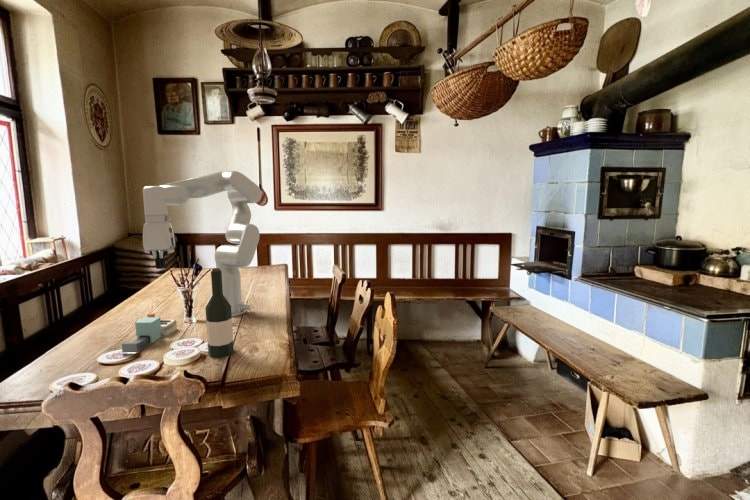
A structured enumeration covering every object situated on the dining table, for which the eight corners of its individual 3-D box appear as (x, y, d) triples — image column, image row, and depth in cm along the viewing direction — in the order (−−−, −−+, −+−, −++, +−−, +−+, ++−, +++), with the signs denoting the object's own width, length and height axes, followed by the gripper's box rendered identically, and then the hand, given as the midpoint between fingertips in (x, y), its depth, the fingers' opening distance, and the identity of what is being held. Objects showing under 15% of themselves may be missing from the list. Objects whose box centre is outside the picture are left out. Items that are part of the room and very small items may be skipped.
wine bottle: (218, 359, 136) (213, 272, 131) (203, 354, 140) (197, 269, 136) (238, 351, 143) (234, 268, 138) (223, 346, 147) (218, 265, 143)
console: (176, 329, 166) (175, 318, 165) (167, 336, 158) (166, 324, 157) (152, 329, 165) (151, 318, 165) (141, 336, 158) (140, 324, 157)
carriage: (161, 336, 156) (160, 317, 154) (153, 342, 150) (151, 322, 148) (145, 336, 155) (144, 317, 154) (137, 342, 150) (135, 322, 148)
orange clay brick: (155, 321, 162) (154, 313, 161) (153, 322, 160) (152, 314, 160) (150, 321, 162) (149, 313, 161) (148, 322, 160) (147, 314, 160)
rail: (162, 336, 157) (161, 326, 156) (137, 354, 140) (136, 343, 139) (149, 336, 157) (148, 326, 156) (122, 354, 140) (121, 343, 139)
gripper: (181, 218, 154) (185, 266, 157) (142, 219, 154) (146, 266, 157) (172, 220, 147) (175, 270, 149) (130, 220, 146) (135, 270, 149)
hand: (160, 268), depth 153 cm, fingers closed
